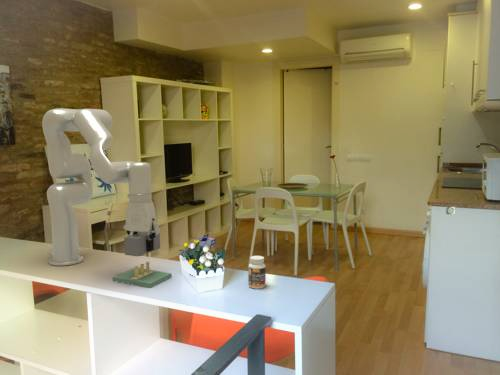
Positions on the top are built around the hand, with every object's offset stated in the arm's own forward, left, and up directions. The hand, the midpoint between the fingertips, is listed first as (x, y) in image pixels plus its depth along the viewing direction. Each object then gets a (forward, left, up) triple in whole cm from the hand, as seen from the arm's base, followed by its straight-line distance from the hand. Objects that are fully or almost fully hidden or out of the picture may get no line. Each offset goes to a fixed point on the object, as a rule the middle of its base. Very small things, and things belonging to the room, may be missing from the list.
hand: (142, 249), depth 153 cm
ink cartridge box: (+15, +16, -11) cm, 24 cm away
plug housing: (0, 0, -1) cm, 1 cm away
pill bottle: (+39, +11, -11) cm, 42 cm away
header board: (0, 0, -11) cm, 11 cm away
